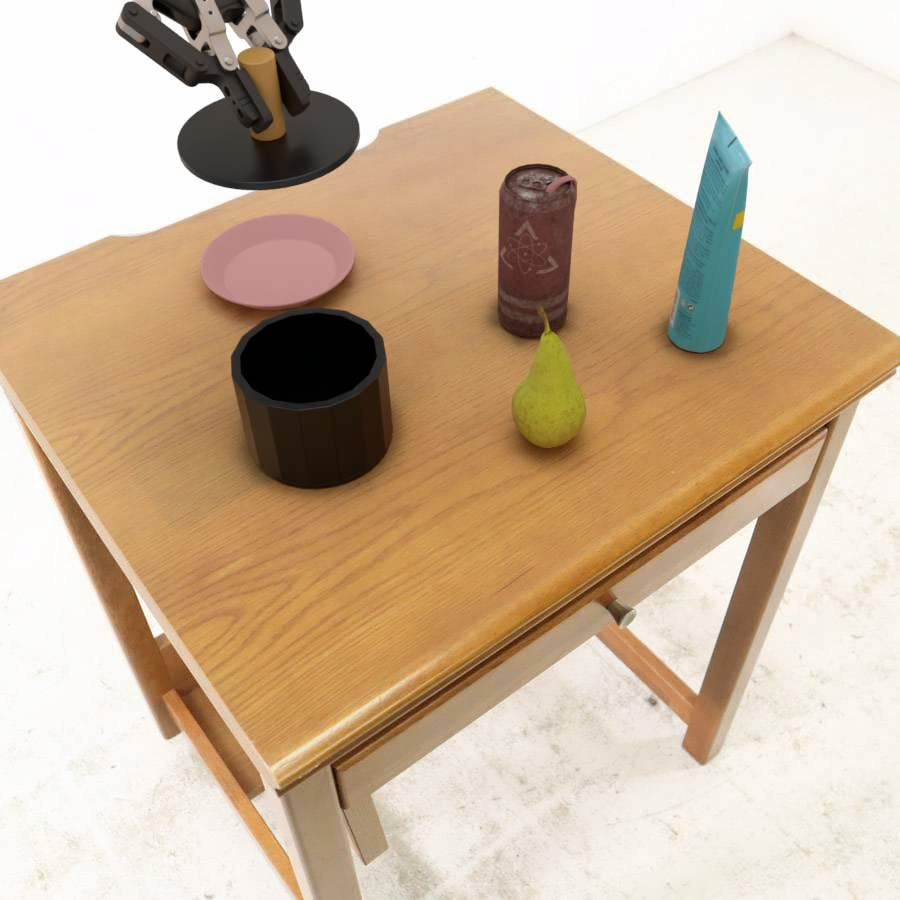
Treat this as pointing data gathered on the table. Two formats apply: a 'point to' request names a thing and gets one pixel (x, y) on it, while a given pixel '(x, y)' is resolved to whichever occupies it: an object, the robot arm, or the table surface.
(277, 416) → the tin
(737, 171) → the tube
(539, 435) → the fruit
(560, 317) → the can
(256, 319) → the table surface
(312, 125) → the lid
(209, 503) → the table surface
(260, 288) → the plate
